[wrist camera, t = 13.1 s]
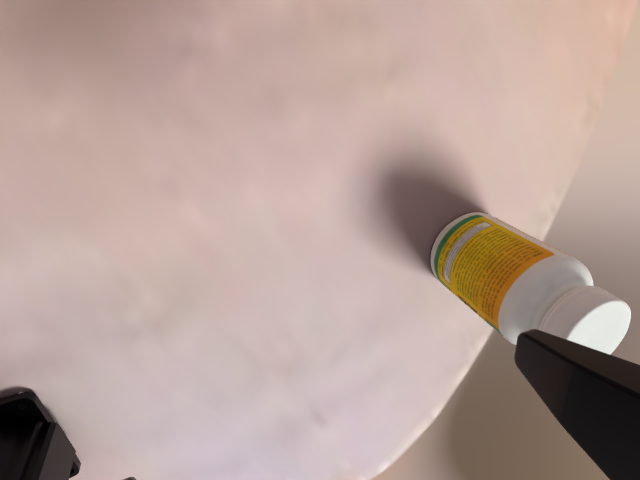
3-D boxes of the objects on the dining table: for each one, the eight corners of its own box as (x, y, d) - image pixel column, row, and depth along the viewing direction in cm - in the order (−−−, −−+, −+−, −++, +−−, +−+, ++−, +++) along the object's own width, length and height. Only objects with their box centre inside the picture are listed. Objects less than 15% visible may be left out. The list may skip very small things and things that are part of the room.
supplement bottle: (508, 214, 26) (664, 288, 17) (478, 284, 27) (607, 381, 19) (443, 205, 24) (586, 284, 15) (416, 281, 25) (531, 389, 17)
